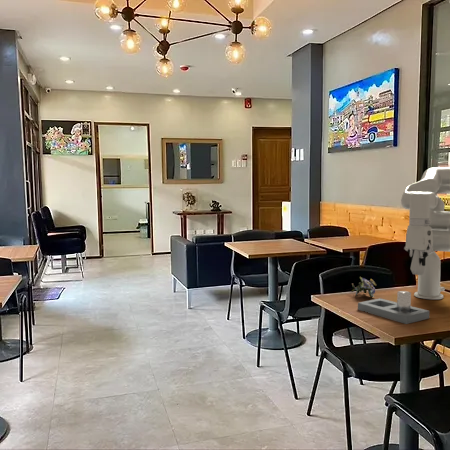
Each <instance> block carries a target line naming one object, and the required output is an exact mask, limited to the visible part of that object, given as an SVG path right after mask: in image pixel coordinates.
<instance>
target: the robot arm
mask: <svg viewBox="0 0 450 450" xmlns="http://www.w3.org/2000/svg"><path fill="white" fill-rule="evenodd" d="M437 194H443V195H444V194H450V167H447V166H446V167H442V166H441V167H430V168H428V169H426V170H425V171H424V172H423V174H422V176H421V178H420V180H419V181H417V182H414V183H412V184H409V185H408V186H407V187H406V188H405V189H404V191H403V193H402V194H401V195H402V196H401V199H400V201H401V202H400V203H401V206H402V208H403V209H405V210H409V215H408V216H409V217H408V218H409V219H408V220H409V223H408V224H409V225H407V228H406V235H405V246H404V247H403V250H405V251H406V252H407V253H408V254H409V257H410V264H411V263H412V259H413V254H414V250H420V258H419V264H421V262H422V266H425V267H426V270H425V272H424V274H423V275H417V291H415V292H414V294H413V296H414V297H416V298H419V299H422V300H442V299H444V294H443V293H441V292H444V291H445V290H446V289H445V287H444V286H441V263H442V262H441V258H440V256H439V255H438V254H437V253H436V252H449V253H450V210H449V211H447V210H446V211H445V206H446V205H445V202H444V201H443V199H441V198H440V197H439V196H438V195H437Z"/></svg>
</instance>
